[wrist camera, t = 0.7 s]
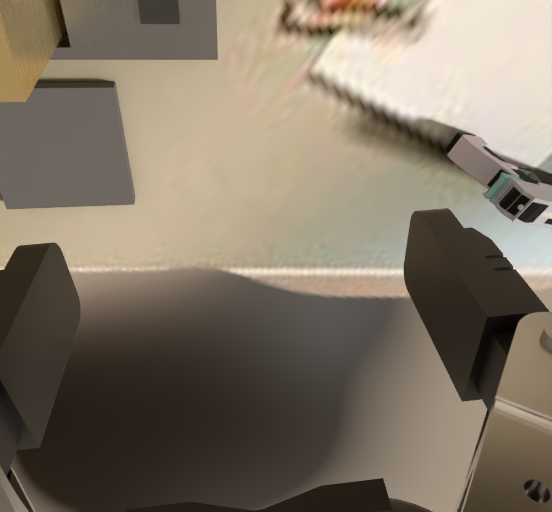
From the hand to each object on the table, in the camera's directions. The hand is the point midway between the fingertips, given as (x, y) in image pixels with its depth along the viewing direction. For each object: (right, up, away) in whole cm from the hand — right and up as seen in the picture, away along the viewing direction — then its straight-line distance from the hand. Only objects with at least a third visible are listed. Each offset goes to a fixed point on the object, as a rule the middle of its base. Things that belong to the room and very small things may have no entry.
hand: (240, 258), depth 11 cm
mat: (-16, +8, +26) cm, 32 cm away
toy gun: (+23, +8, +34) cm, 42 cm away
